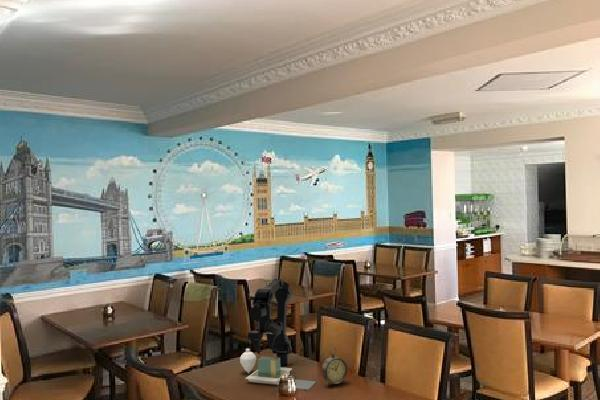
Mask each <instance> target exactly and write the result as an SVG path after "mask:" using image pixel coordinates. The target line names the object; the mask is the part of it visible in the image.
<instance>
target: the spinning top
mask: <svg viewBox="0 0 600 400" xmlns="http://www.w3.org/2000/svg"><path fill="white" fill-rule="evenodd" d="M239 362H240V365H241V366H242V367H243V369H244V370H245V371H246V372H247V374H250V373H251V371H252V370H253V368H254V367H255V365H256V362H257V356H256V354H255V353H254V352H252V351H251V349H250V348H245V352H243V353H242V354H241V356H240V357H239Z"/></svg>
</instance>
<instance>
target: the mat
mask: <svg viewBox="0 0 600 400" xmlns="http://www.w3.org/2000/svg"><path fill="white" fill-rule="evenodd" d="M294 380H295V383H296V388H295V389H299V390H301V389H302V390H303V391H307V392H308V391H309V390H311V389H312V387H314V385H316V384H317V381H316V380H315V381H313V380H305V379H294Z"/></svg>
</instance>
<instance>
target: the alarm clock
mask: <svg viewBox="0 0 600 400" xmlns="http://www.w3.org/2000/svg"><path fill="white" fill-rule="evenodd" d="M332 349H334V350H335V352H334V353H331V351H332ZM336 353H337V349H336V347H335V346H333V347H331V348H330V349H329V354H330V355H331V356H329V357H327V358H326V359H325V360H324V362H323V364H322V367H321V375H322V377H323V379H324V380H325V381H326V382H328V383H327V386H326V388H329V386H330V384H333V385H338V384H341V383H343V384H345V383H346V382H345V381H344V380H345V379H346V377H347V375H348V366H347V363H346V362H345V360H344V359H342V358H340V357H338V356H335V354H336Z"/></svg>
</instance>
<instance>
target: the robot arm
mask: <svg viewBox="0 0 600 400" xmlns="http://www.w3.org/2000/svg"><path fill="white" fill-rule="evenodd" d="M292 291H293V290H292V286H290V284H289V283H288V282H286V281H284V279H282V278H274V279H272V280H271V281H270V283H269V284H267V285H266V286H264V287H260V288H257V289H256V291H255V293H254V297H253V301H252V305H253V307H252V308H251V309H250V311H249V316H250V319H252V320H253V321H255V322H256V323H257V324H258V325H257V327H258V328H256V329H255V330H251V331H248V333H246V339H247V340H249V341H250V342H251V343H252V345H253V348H254V350H255V351H256V354H257V355H260V354H261V345H262V341H263V340H264V338H263V336H264V335H265V336H266V339H267V345H268V349H269V350H270V351H271V352H272V354H275V355H276V356H275V357H280V367H281V368H287V367H288V366H290V365H291V364H292V363H291V362H289V355H290V354H292V351H293V350H292V349H293V348H292V346H291V344H290V341H289V338H290V337H288V335H287V333H286V331H287V329H286V328H287V314H288V313H287V311H288V302H289V300H290V299H291V296H292V295H291V294H292V293H293V292H292ZM273 299H275V300H276V302H277V306H276V307H277V310H276V322H274V319H273V318H271V317H272V316H271V315H272V314H271V313H272V312H271V307H272V301H273Z"/></svg>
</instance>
